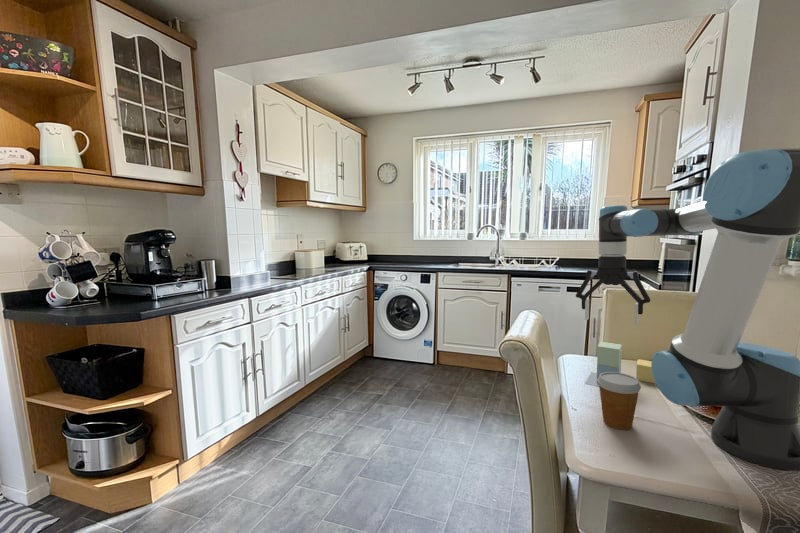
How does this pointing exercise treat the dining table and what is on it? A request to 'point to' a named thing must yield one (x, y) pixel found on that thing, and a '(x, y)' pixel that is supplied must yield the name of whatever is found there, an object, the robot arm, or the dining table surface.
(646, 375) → the ochre brick
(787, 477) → the dining table surface
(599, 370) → the blue base brick
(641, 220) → the robot arm
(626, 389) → the disposable coffee cup
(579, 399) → the dining table surface
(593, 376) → the slate board
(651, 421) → the dining table surface
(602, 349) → the sage brick
